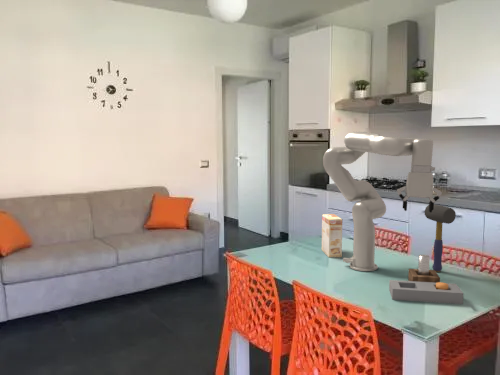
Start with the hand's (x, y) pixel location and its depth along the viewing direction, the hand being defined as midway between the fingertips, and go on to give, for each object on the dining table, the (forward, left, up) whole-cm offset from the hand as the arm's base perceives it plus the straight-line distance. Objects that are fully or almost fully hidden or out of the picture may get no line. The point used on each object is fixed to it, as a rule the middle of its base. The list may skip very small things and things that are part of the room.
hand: (417, 211), depth 177 cm
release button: (+6, -20, -29) cm, 35 cm away
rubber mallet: (+12, +16, -30) cm, 36 cm away
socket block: (0, -20, -30) cm, 36 cm away
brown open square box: (+2, -7, -30) cm, 31 cm away
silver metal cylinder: (+2, -7, -29) cm, 30 cm away
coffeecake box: (-35, +38, -30) cm, 60 cm away
